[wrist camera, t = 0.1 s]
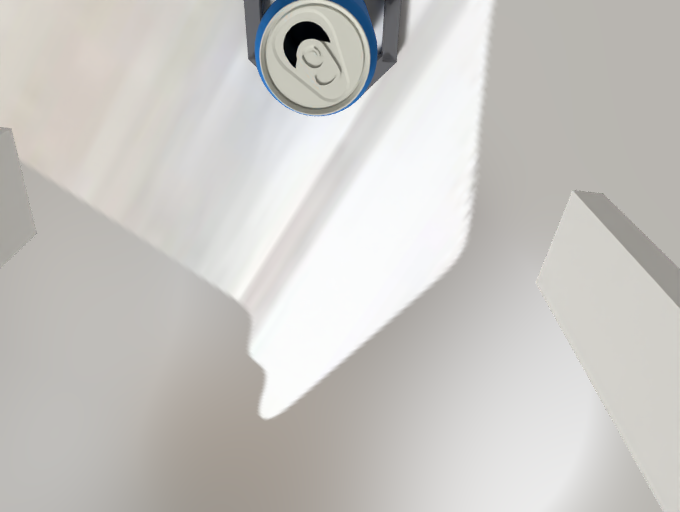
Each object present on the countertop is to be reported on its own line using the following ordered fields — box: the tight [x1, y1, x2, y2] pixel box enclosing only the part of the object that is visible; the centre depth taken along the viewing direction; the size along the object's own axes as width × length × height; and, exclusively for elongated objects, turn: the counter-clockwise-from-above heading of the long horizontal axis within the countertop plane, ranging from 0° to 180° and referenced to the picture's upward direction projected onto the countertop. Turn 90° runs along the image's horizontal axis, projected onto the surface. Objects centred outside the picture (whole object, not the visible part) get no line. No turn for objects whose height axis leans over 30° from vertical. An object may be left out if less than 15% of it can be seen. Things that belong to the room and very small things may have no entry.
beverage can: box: [255, 0, 378, 116], centre depth 30 cm, size 6×6×12 cm
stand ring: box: [244, 0, 401, 93], centre depth 35 cm, size 10×10×1 cm
